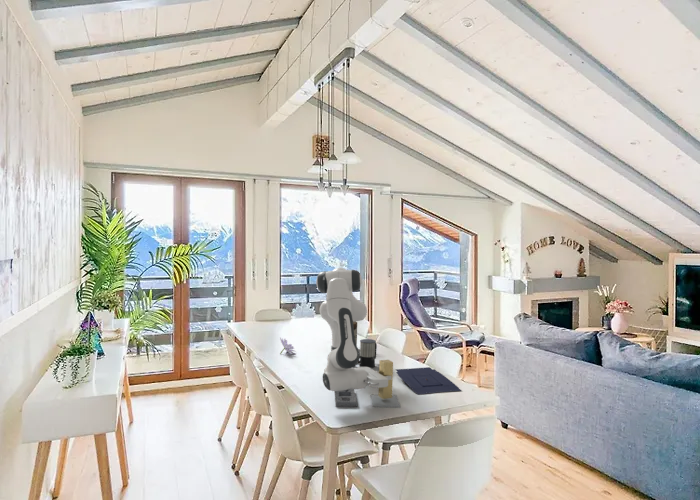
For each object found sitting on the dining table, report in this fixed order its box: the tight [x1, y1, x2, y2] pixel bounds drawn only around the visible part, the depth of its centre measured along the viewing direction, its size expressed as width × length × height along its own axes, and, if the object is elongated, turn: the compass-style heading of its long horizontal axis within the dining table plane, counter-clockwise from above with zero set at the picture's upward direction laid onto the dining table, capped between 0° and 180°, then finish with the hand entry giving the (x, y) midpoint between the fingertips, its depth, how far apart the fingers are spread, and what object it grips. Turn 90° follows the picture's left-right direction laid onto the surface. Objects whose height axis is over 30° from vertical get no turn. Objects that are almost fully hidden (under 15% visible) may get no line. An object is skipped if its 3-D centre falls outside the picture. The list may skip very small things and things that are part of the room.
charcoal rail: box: [333, 389, 358, 408], centre depth 209 cm, size 20×9×2 cm, turn 3°
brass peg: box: [377, 359, 394, 399], centre depth 206 cm, size 4×4×16 cm
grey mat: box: [370, 394, 401, 408], centre depth 207 cm, size 14×12×1 cm
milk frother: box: [358, 338, 378, 369], centre depth 268 cm, size 14×16×15 cm
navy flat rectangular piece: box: [395, 366, 462, 395], centre depth 235 cm, size 24×30×4 cm
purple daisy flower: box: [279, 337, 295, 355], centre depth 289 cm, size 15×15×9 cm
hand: (387, 375), depth 207 cm, fingers closed on brass peg, 4 cm apart
